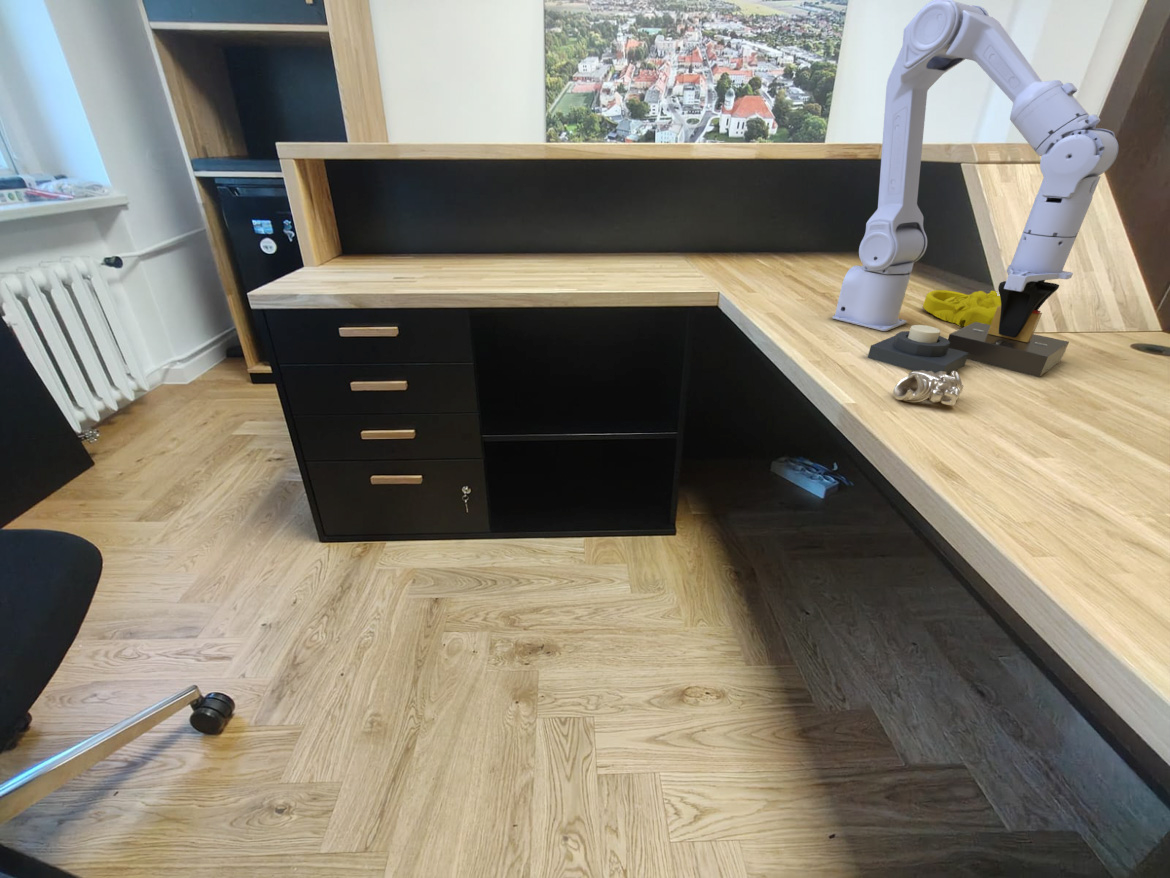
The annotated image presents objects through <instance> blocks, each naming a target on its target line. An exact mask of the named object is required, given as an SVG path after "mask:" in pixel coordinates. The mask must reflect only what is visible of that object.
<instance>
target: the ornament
mask: <svg viewBox="0 0 1170 878" xmlns="http://www.w3.org/2000/svg"><path fill="white" fill-rule="evenodd" d="M963 389H964V384H963V383H962V379H961V376H960V374H959V372H958V370H956V371H952V372H951V373H950V375H946V372H943V371H939V372H937V373H934V372H932V371H928V372H927V371H924V370H920V371H912V370H911V371H910V372H908V375H906V376H905V377H903V378H902V379H900V380H899V381H898V382H897V383H896V385H895V386H894V388H893V392H892V393H893V397H894V398H895V399H896V400H897V401H904V402H905V403H909V404H910V403H911V404H916V403H917V404H918V403H921V402H924V401H926V400H928V399H929V400H928V401H929V402H932V403H941V404H942V405H947V406H955V405H956V402H957V400H958V399H959V398H960V396H961V394H962V393H963Z"/></svg>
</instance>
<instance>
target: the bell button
mask: <svg viewBox="0 0 1170 878" xmlns="http://www.w3.org/2000/svg"><path fill="white" fill-rule="evenodd" d="M909 331H910V332H909V335H908V338H909V339H911V340H914V341H918V342H923V343H937V340H938V337H939V336H940V334H941V329H939V328H937V327H934V326H931V325H925V324H913V325H911V326H910V329H909Z"/></svg>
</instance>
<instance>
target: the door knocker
mask: <svg viewBox="0 0 1170 878" xmlns="http://www.w3.org/2000/svg"><path fill="white" fill-rule="evenodd" d="M996 292H997V290H990V292H989V293H987V292H985V291H983V290H978V291H974V292H973V291H972V293H969V294H967V293H962V292H959V291H954V290H947V289H935V290H931V291H929V292H927V294H926V296H925V297H924V301H923V304H922V308H923V309H924V310H925V311H926V312H928V313H930V314H931V315H933V316H934V317H936V318H938V319H939V320H942V321H945V322H949V323H952V324H956V325H957V326H959V328H964V327H966V326H968V325H970V324H972V323H974V322H978V323H983V324H988V325H991V323H992V320H993V318H994V315H995V312H996V310H997V307H998V306H1001V298H1000V296H997V293H996Z"/></svg>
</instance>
